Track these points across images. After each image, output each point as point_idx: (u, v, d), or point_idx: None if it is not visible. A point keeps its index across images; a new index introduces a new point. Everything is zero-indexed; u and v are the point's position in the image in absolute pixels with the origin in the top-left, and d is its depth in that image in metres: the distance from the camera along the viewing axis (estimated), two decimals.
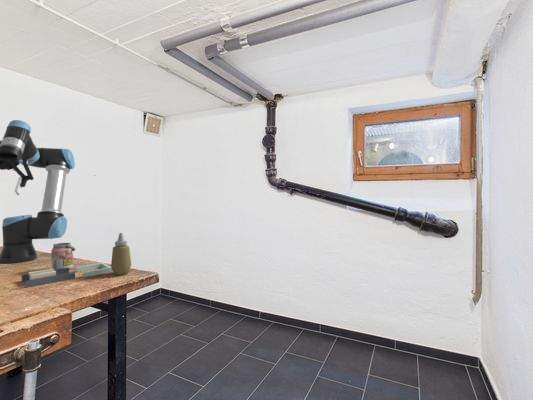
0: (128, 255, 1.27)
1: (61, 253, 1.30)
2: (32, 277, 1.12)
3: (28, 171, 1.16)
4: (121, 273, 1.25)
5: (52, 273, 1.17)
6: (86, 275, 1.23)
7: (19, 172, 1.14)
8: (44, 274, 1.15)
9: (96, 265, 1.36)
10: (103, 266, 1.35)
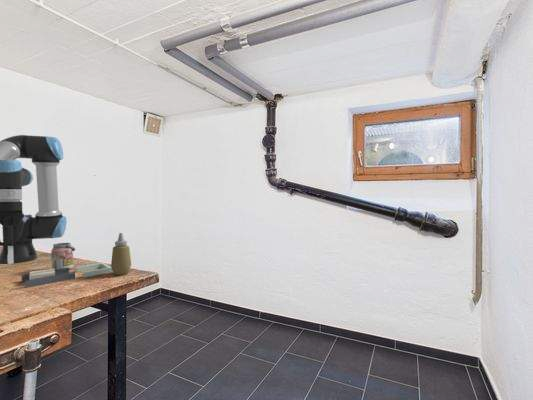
0: (128, 255, 1.27)
1: (61, 253, 1.30)
2: (31, 277, 1.12)
3: (23, 236, 1.11)
4: (122, 273, 1.25)
5: (50, 273, 1.16)
6: (86, 275, 1.23)
7: (14, 237, 1.09)
8: (43, 274, 1.15)
9: (96, 265, 1.36)
10: (103, 266, 1.35)
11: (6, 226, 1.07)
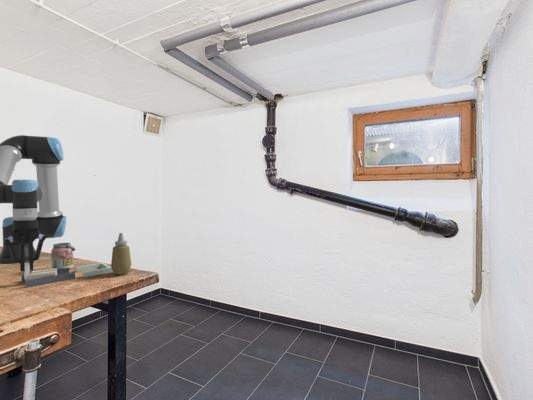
0: (128, 255, 1.27)
1: (61, 253, 1.30)
2: (31, 276, 1.13)
3: (38, 253, 1.15)
4: (122, 273, 1.25)
5: (51, 273, 1.16)
6: (86, 275, 1.23)
7: (30, 254, 1.13)
8: (43, 274, 1.15)
9: (96, 265, 1.36)
10: (103, 266, 1.35)
11: (23, 244, 1.11)
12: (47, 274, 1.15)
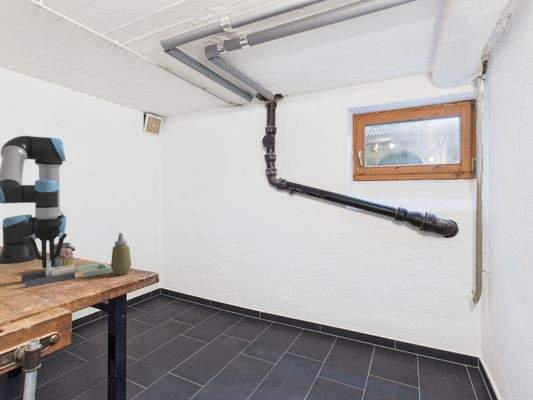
0: (128, 255, 1.27)
1: (61, 253, 1.30)
2: (53, 273, 1.17)
3: (59, 250, 1.20)
4: (121, 273, 1.25)
5: (71, 269, 1.22)
6: (86, 275, 1.23)
7: (52, 251, 1.18)
8: (64, 270, 1.20)
9: (96, 265, 1.36)
10: (103, 266, 1.35)
11: (45, 241, 1.16)
12: (68, 270, 1.21)
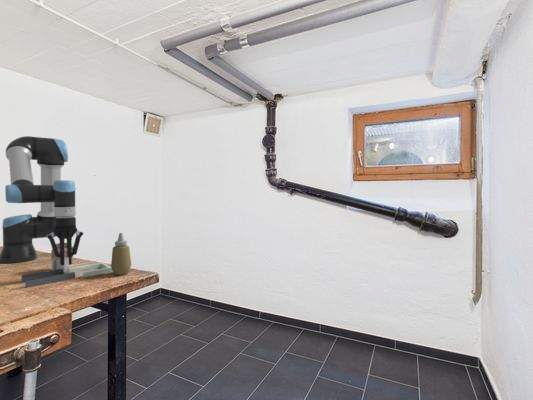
0: (128, 255, 1.27)
1: None
2: (70, 270, 1.22)
3: (76, 248, 1.24)
4: (122, 273, 1.25)
5: (87, 266, 1.26)
6: (86, 275, 1.23)
7: (69, 249, 1.22)
8: (81, 267, 1.24)
9: (96, 265, 1.36)
10: (103, 266, 1.35)
11: (63, 239, 1.20)
12: (84, 267, 1.25)
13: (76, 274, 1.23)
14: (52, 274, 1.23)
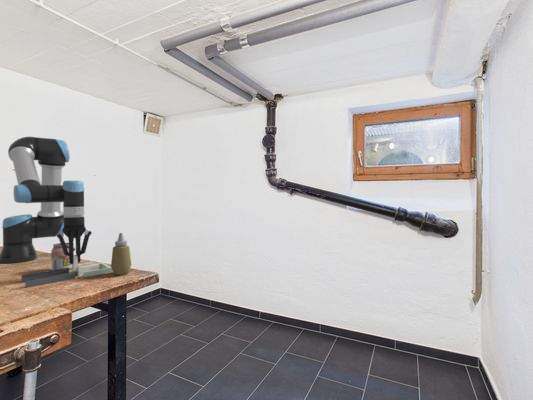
0: (128, 255, 1.27)
1: (61, 253, 1.30)
2: (79, 269, 1.24)
3: (85, 247, 1.27)
4: (122, 273, 1.25)
5: (96, 265, 1.29)
6: (86, 275, 1.23)
7: (78, 248, 1.25)
8: (89, 266, 1.27)
9: None
10: (103, 266, 1.35)
11: (72, 239, 1.23)
12: (93, 266, 1.28)
13: None
14: (52, 274, 1.23)
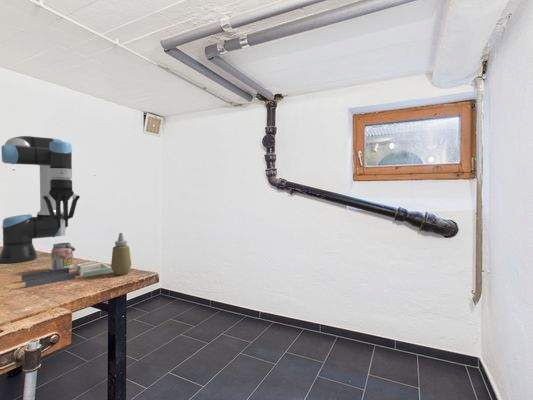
0: (128, 255, 1.27)
1: (61, 253, 1.30)
2: (81, 268, 1.25)
3: (73, 211, 1.23)
4: (122, 273, 1.25)
5: (97, 265, 1.29)
6: (86, 275, 1.23)
7: (65, 212, 1.21)
8: (91, 266, 1.27)
9: None
10: (103, 266, 1.35)
11: (59, 201, 1.19)
12: (95, 266, 1.28)
13: None
14: (52, 274, 1.23)
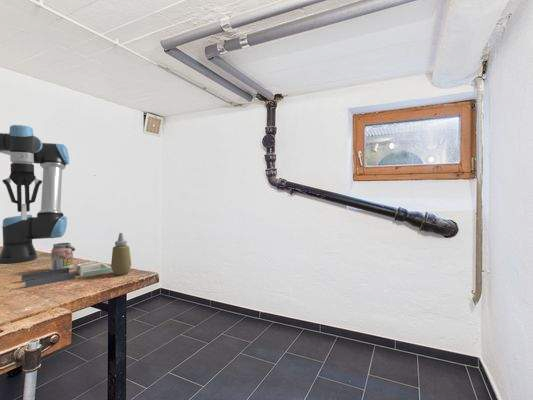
0: (128, 255, 1.27)
1: (61, 253, 1.30)
2: (81, 268, 1.25)
3: (34, 196, 1.23)
4: (122, 273, 1.25)
5: (97, 265, 1.29)
6: (86, 275, 1.23)
7: (27, 196, 1.21)
8: (91, 266, 1.27)
9: None
10: (103, 266, 1.35)
11: (20, 185, 1.19)
12: (95, 266, 1.28)
13: None
14: (52, 274, 1.23)
